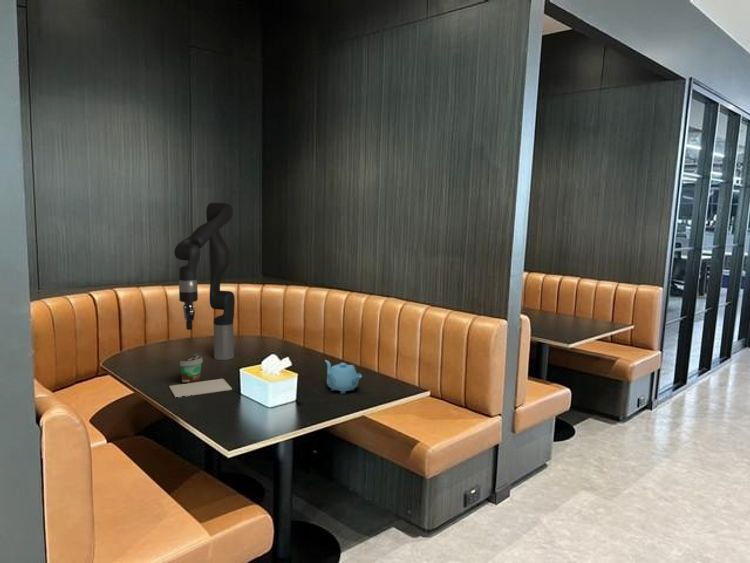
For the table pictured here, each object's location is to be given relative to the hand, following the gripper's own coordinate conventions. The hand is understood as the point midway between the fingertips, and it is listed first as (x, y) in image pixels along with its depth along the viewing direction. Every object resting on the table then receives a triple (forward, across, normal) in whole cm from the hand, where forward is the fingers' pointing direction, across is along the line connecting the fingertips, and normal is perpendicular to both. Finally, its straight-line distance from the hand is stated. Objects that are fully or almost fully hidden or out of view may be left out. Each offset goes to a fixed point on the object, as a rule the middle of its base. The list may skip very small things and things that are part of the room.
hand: (189, 329), depth 238 cm
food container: (+21, -9, 0) cm, 23 cm away
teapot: (+21, -47, -51) cm, 72 cm away
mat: (+20, -20, 0) cm, 29 cm away
